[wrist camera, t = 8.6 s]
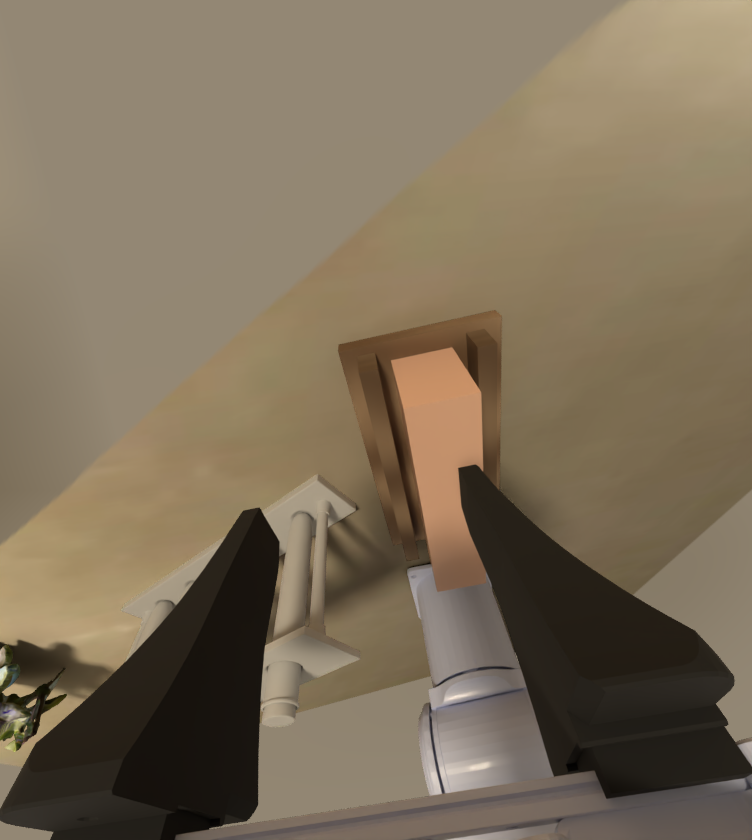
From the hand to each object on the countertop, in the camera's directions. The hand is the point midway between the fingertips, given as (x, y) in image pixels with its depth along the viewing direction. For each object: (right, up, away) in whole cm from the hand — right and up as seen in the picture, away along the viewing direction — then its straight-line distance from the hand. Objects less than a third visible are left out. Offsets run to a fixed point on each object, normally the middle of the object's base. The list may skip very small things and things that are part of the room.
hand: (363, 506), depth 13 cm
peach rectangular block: (+5, 0, +12) cm, 12 cm away
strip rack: (+4, +1, +12) cm, 13 cm away
